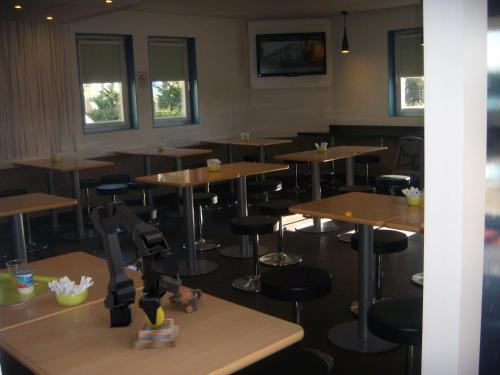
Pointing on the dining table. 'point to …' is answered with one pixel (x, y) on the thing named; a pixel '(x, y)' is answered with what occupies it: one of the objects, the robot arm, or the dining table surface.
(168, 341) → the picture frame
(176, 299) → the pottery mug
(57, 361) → the dining table surface
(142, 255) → the robot arm
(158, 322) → the lemon
